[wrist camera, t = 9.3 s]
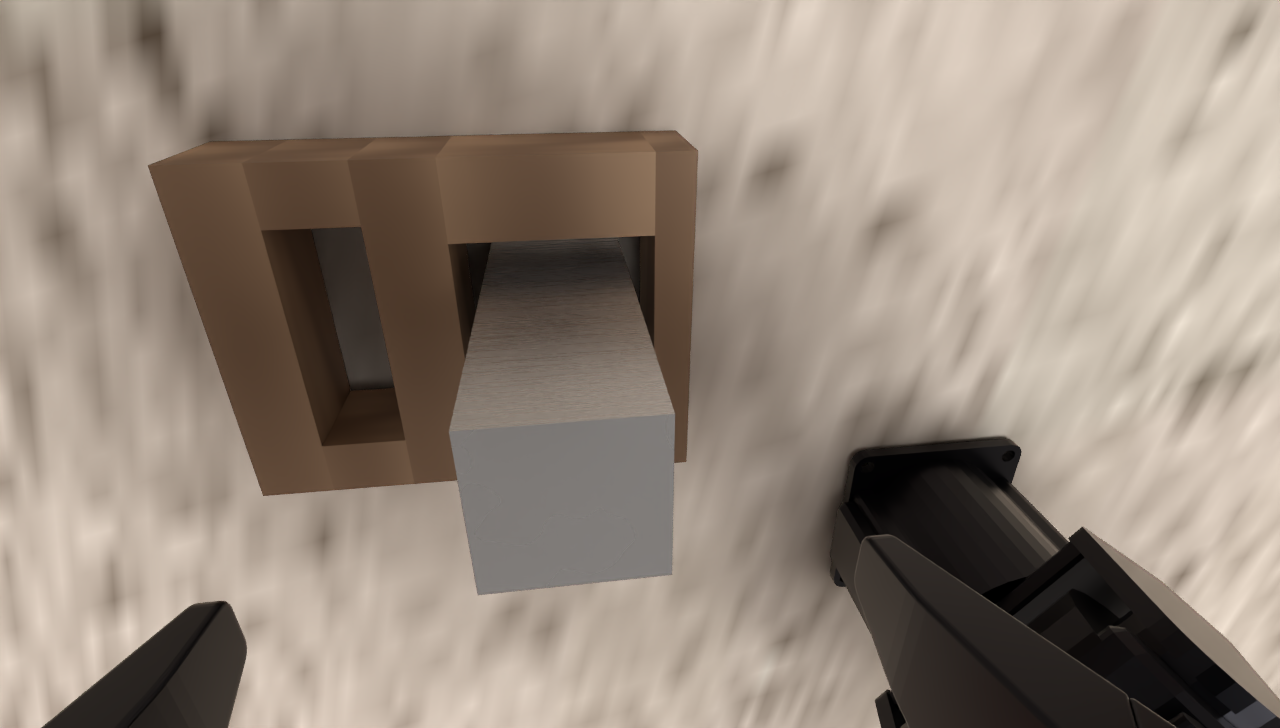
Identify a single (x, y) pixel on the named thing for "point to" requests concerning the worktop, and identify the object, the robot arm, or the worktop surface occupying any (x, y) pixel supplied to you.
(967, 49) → the worktop surface
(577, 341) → the square bit
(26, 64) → the worktop surface
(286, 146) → the brown wooden slotted frame
